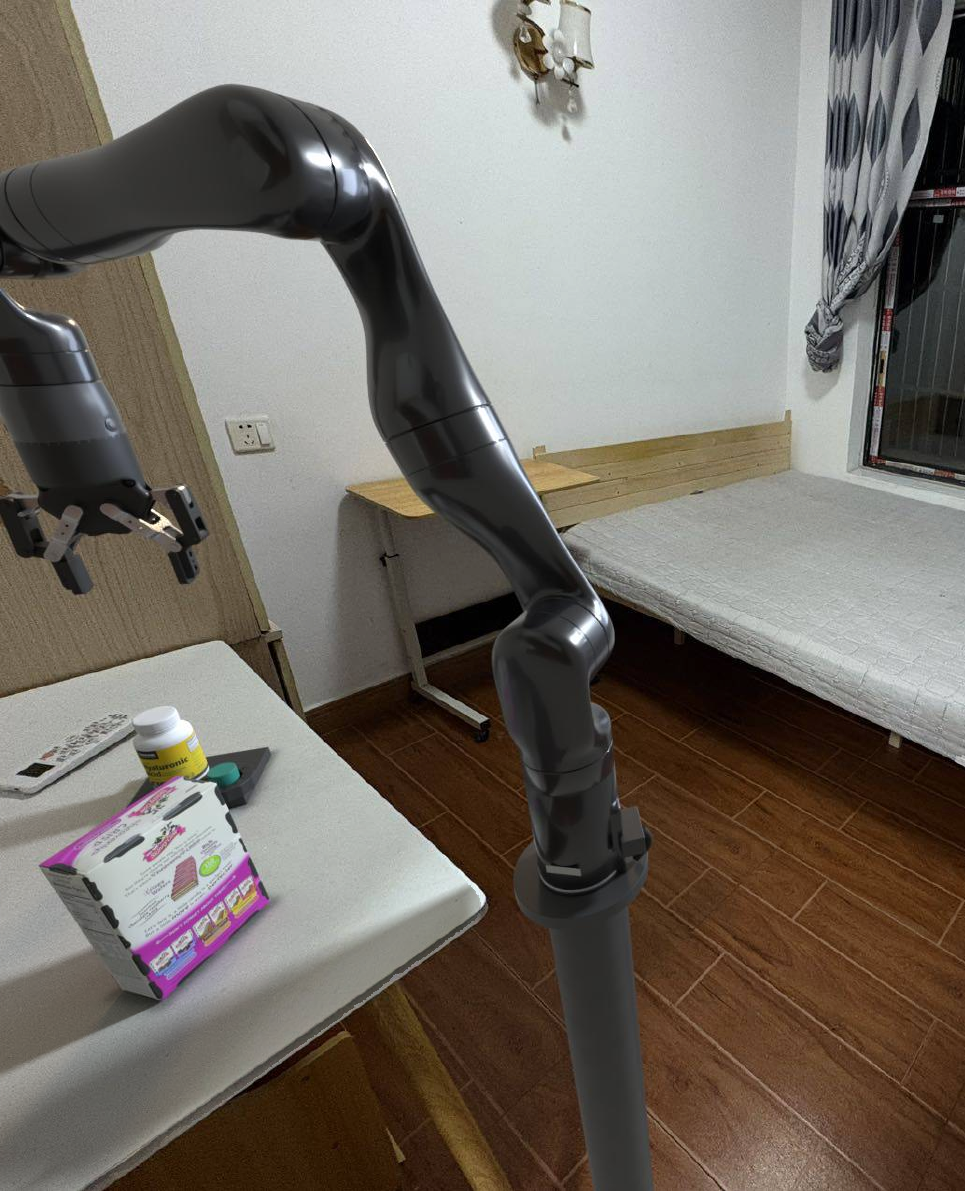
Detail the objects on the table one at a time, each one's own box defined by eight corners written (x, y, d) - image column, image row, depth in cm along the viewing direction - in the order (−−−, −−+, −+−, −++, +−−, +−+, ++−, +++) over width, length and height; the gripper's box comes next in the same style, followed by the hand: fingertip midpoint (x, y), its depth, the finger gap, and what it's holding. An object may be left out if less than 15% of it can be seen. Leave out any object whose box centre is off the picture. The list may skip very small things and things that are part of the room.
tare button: (243, 771, 82) (239, 760, 81) (235, 785, 79) (231, 774, 79) (216, 775, 81) (211, 764, 80) (207, 790, 78) (202, 779, 78)
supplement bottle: (145, 797, 79) (113, 732, 74) (165, 769, 83) (135, 706, 79) (201, 787, 80) (172, 723, 76) (217, 760, 85) (191, 698, 81)
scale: (279, 753, 89) (272, 735, 88) (253, 807, 80) (245, 788, 79) (160, 773, 84) (151, 755, 83) (118, 832, 75) (108, 813, 74)
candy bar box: (232, 892, 69) (176, 772, 62) (273, 901, 68) (221, 780, 61) (115, 993, 59) (32, 863, 52) (161, 1004, 58) (83, 874, 51)
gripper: (181, 421, 67) (233, 566, 73) (-7, 426, 62) (68, 580, 68) (147, 436, 60) (208, 592, 67) (-65, 442, 55) (24, 611, 62)
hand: (137, 586), depth 68 cm, fingers open, 8 cm apart
